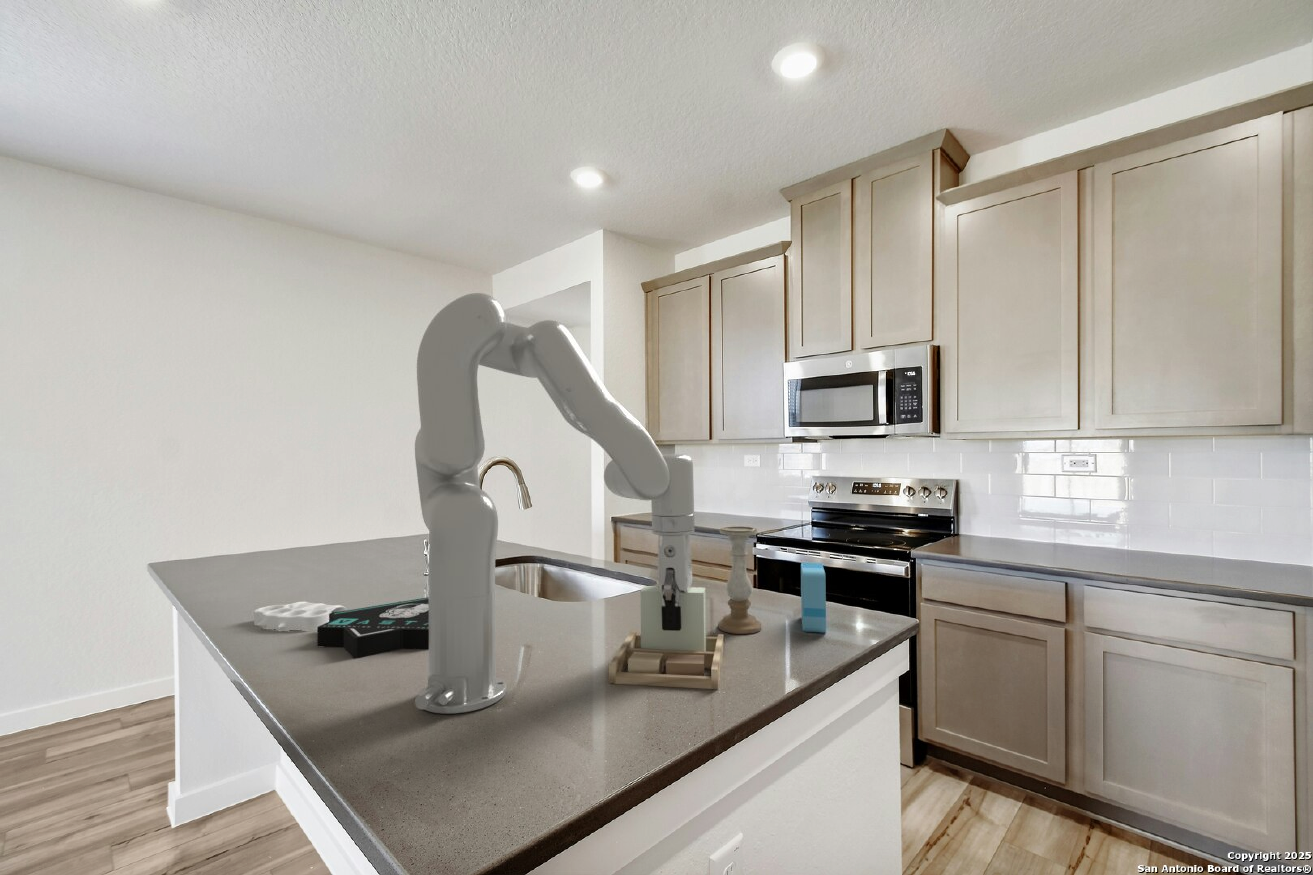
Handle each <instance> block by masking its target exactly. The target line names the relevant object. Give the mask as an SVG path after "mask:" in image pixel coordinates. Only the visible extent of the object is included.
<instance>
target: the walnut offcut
mask: <svg viewBox="0 0 1313 875" xmlns="http://www.w3.org/2000/svg"><path fill="white" fill-rule="evenodd" d="M665 674H670V675H689V676H705V668H704V655H678V654H668V656H667V660H666V666H665Z"/></svg>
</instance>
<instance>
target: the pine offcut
mask: <svg viewBox="0 0 1313 875" xmlns="http://www.w3.org/2000/svg"><path fill="white" fill-rule="evenodd" d="M627 672H631V673H650V674H663V672H664V666H663V654H661V653H644V652H633V654H632V655H631V657H630V658H629V660H628V665H627Z"/></svg>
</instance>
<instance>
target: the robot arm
mask: <svg viewBox="0 0 1313 875" xmlns="http://www.w3.org/2000/svg"><path fill="white" fill-rule="evenodd" d="M479 366H482V367H485V368H489V369H493V370H496V371H500V372H504V373H507V374H511V375H517V376H519V377H520V376H521V377H526V378H531V379H532V378H533V379H535V378H536V379H537V380H538V381H539V383H540V384H541V386H542V387H543V388H544V391H545V392H546V394H547V395H548V396H549V397H550V398H549V399H551V400H552V402H553V404H554V405H555V407H556V408H557V410H558V411H559V412H560V415H561V416H562V417H563V418H564V420H565V422H567V423H568V424H569V426H571V427H573V428H574V430H576V431H578V432H580V433H581V434H584V435H585V436H587V437H588V438H590V439H591V440H593V441H594V442H595V443H596V444H597V445H598V446H600V447H601V448H602V449H603V451H605V453H607V455H608V456H609V457H610V459H611V460H610V461H609V462H608V463H607V464H606V467H605V468H604V472H603V480H604V483H605V486H606V488H607V489H608V490H609V491H610V492H611V493H612V494H614V495H615V496H618V497H620V498H624V499H625V498H626V499H630V500H631V499H633V500H639V501H646V502H648V501H651V502H650V503H651V505H650V506H651V534H653V535H655V536H657V537H658V538H657V540H658V541H657V543H658V544H657V549H658V550H657V553H658V554H657V555H658V556H657V558H658V559H657V560H658V562H657V563H658V564H657V565H658V567H657V568H658V569H657V570H658V585H659V588H660V591H661V592H663V597H662V629H663V630H669V631H680V630H681V606H679V597H680V591H684V593H686V592H687V591H688V590H689V588H690V587H692V584H693V568H692V566H693V565H692V549H691V548H692V547H691V536H690V535H692V534H694V533H695V532H696V531H695V501H694V500H695V498H694V496H695V494H694V462H693V460H692V457H691V456H689V455H687V454H676V453H675V454H662V452H661V451H660V450H659V447H658V446H657V445H656V443H655V441H654V439H652V437H651V435H650V434H649V432H648V431H647V430H646V429H645V427H644V426H643V425H642V424H641V423H640V422H639V421H638V419H637V418H635V417H634V416H633V414H631V413H630V412H629V411H628V410H627V408H625V407H624V406H623V405H622V404H621V403H620V402H619V401H618V400H617V399H615V398H614V396H612V394H611V393H610V392H609V391H608V388H606V386H605V385H604V383H603V381H602V379H601V378H600V377H599V375H598V374H597V372H596V370H595V369H594V368H593V366H592V364H591V363H590V361H589V359H588V358H587V357H586V355H585V353H584V352H583V350H582V349H581V347H580V345H579V344H578V342H577V341H576V339H575V338H574V336H573V334H572V333H571V331H570V330H569V329H568V328H567V327H566V326H565V325H564V324H563V323H561V322H558V321H556V320H551V319H549V320H541V321H538V322H536V323H534V324H531V325H530V326H529V327H525V326H521V325H517V324H514V323H510V322H507V316H506V312H505V310H504V307H503V306H502V305H501V303H500V302H499V301H498V300H497V299H496V298H494V297H493V296H492V295H490V294H487V293H481V292H474V293H468V294H465V295H462V296H460V297H458V298H455V299H454V300H452V301H451V302H449V303H448V304H447V305H445V306H444V307H443V308H442V309H440V310H439V311H438V312H437V314H436V315H435V316H434V317H433V319H432V320H431V321H430V323H429V324H428V326H427V327H426V329H425V332H424V334H423V336H422V339H421V341H420V344H419V348H418V352H417V358H416V381H417V382H416V383H417V396H418V410H419V421H420V428H419V430H418V432H417V434H416V435H415V436H416V437H415V440H414V458H415V467H416V477H417V484H418V492H419V500H420V510H421V516H422V519H423V522H424V524H425V526H426V529H428V531H429V541H428V545H429V547H428V568H427V569H428V573H427V574H428V575H427V577H428V578H427V582H428V584H427V589H428V590H427V594H428V597H429V650H428V676H427V684H425V685H424V686H423V687H422V688H421V689H420V690H419V691H418V693H417V696H416V697H415V698H414V705H415V707H416V709H418V710H424V711H426V712H430V713H435V714H443V715H445V714H447V715H449V714H452V715H453V714H462V713H469V712H474V711H478V710H481V709H484V708H487V707H489V706H491V705H493V704H496V703H497V702H498V701H500V700H501V699H502V698H503V697H504V696H505V695H506V694H507V682H506V681H505V680H504V679H503V678H501V676H498V675H496V665H497V664H496V662H497V660H496V656H497V655H496V555H497V554H496V553H497V552H496V551H497V542H498V532H499V519H498V518H499V517H498V512H497V511H498V510H497V508H496V506H495V503H494V501H493V499H492V498H491V496H489V494H488V493H487V492H486V491H485V490H483V489H481V487H480V480H479V479H480V478H479V470H478V466H479V464H480V463H481V461H482V459H483V457H484V453H485V449H486V448H485V442H486V441H485V438H484V437H485V436H484V431H483V424H482V419H481V417H482V416H481V411H480V410H481V409H480V402H479V390H478V389H479V387H478V370H479V369H478V368H479ZM674 594H676V597H675V595H674Z"/></svg>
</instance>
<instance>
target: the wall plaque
mask: <svg viewBox="0 0 1313 875" xmlns="http://www.w3.org/2000/svg"><path fill="white" fill-rule="evenodd" d="M316 631H317V633H316V634H317V635H316V637H317V642H316V644H317V646H324V647H323V648H344V650H345V651H346V652H347V653H348V655H350V656H351V657H352V658H353V659H361V658H366V657H372V656H375V655H380V654H386V653H389V652H390V653H391V652H394V651H399V650H426V651H427V650H428V651H429V596H427V597H421V598H416V599H411V600H404V601H398V602H397V601H396V602H393V603H392V602H391V603H386V604H379V605H372V606H367V607H366V606H365V607H361V608H355V609H354V608H352V609H349V610H348V609H347V611H341V612H335V613H330V614H329V622H327V623H325V624H323V625H321V626H318V627H317V630H316ZM317 646H316V647H317Z"/></svg>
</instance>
